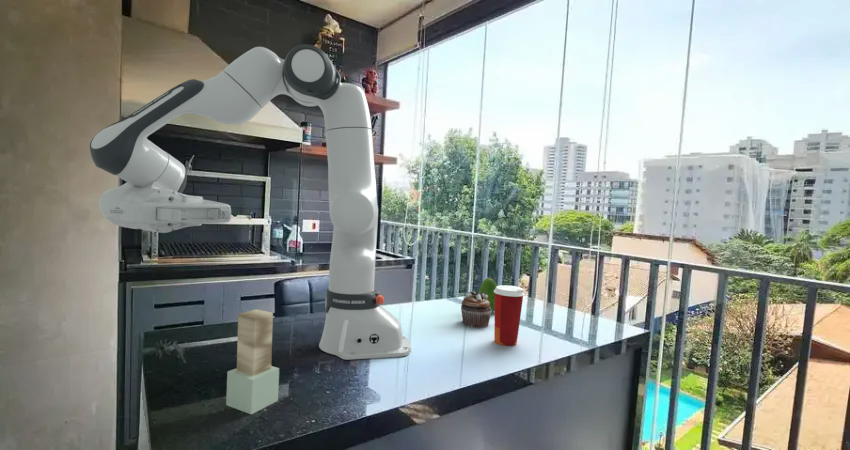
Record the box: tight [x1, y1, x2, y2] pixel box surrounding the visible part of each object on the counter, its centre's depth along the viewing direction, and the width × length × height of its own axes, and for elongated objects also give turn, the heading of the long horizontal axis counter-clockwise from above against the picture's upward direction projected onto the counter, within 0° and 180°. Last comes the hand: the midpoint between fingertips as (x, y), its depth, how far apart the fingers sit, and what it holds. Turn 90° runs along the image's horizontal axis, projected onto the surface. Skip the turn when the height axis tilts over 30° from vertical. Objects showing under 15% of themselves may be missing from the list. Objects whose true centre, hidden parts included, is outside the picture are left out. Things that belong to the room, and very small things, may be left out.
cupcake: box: [460, 290, 493, 329], centre depth 135 cm, size 10×10×10 cm
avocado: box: [477, 277, 498, 312], centre depth 150 cm, size 8×8×12 cm
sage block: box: [225, 365, 280, 415], centre depth 77 cm, size 6×6×6 cm
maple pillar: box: [236, 308, 274, 376], centre depth 76 cm, size 4×4×10 cm
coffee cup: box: [493, 284, 525, 347], centre depth 119 cm, size 8×8×15 cm
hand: (206, 215), depth 82 cm, fingers open, 8 cm apart
